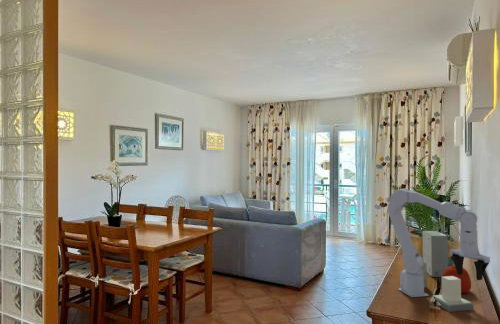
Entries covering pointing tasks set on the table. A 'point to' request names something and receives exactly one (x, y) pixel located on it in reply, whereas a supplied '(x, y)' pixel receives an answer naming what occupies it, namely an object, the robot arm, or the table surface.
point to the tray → (454, 304)
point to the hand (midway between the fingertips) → (469, 276)
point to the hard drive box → (435, 252)
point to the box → (425, 273)
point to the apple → (464, 278)
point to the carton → (451, 288)
